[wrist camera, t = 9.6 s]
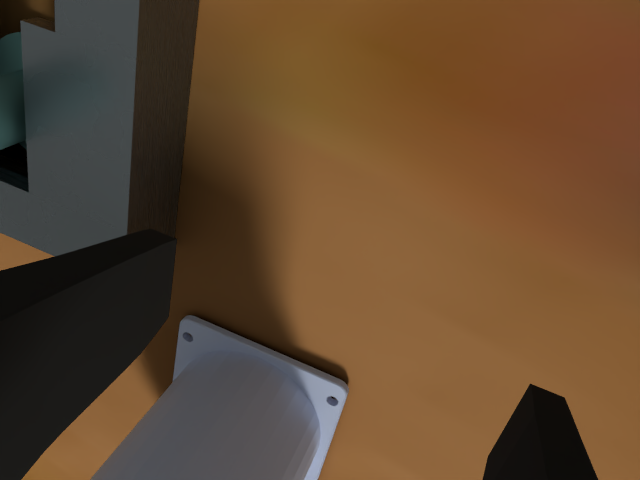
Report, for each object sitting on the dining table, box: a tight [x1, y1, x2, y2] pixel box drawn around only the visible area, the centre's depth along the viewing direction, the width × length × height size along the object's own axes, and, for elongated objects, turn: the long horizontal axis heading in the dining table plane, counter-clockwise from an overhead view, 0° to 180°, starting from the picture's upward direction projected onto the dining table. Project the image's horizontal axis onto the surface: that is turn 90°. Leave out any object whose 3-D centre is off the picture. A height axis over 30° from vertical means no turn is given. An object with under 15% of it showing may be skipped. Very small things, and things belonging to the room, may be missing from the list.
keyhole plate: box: [0, 0, 199, 256], centre depth 20 cm, size 16×12×3 cm
